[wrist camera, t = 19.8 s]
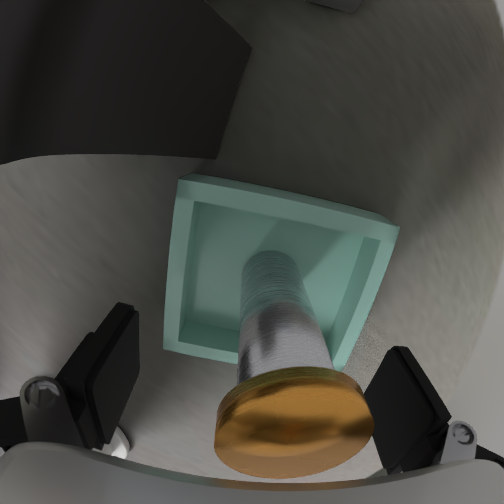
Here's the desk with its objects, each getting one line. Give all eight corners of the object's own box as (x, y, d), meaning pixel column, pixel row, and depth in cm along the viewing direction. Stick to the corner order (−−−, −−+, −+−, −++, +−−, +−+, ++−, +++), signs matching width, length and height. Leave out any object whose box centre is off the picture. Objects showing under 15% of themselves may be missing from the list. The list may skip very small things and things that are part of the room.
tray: (330, 349, 18) (338, 376, 15) (174, 322, 17) (162, 349, 15) (379, 214, 15) (400, 227, 12) (191, 173, 14) (178, 179, 12)
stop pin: (297, 315, 16) (337, 476, 7) (226, 304, 16) (207, 473, 7) (317, 249, 15) (402, 396, 6) (239, 234, 15) (226, 388, 5)
